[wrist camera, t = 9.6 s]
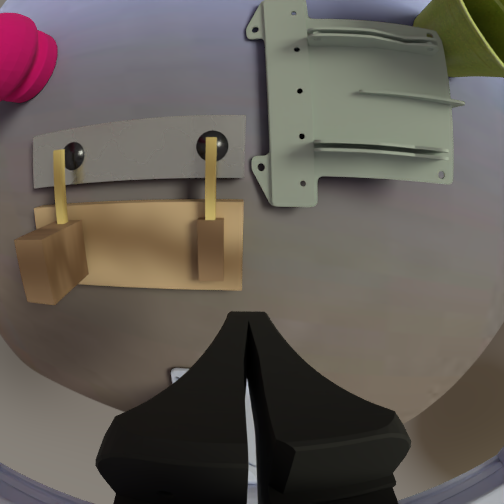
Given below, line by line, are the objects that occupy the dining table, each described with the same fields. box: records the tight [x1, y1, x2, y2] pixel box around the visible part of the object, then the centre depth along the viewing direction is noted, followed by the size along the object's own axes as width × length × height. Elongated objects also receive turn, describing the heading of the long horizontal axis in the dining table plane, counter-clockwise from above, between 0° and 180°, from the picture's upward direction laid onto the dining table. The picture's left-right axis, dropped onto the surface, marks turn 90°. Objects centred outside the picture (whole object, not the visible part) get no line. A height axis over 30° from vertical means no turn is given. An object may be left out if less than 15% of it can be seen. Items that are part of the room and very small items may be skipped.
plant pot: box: [413, 0, 504, 78], centre depth 12 cm, size 9×9×9 cm
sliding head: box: [14, 149, 89, 305], centre depth 15 cm, size 9×2×5 cm, turn 178°
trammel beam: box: [34, 137, 243, 290], centre depth 18 cm, size 10×16×2 cm, turn 88°
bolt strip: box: [33, 115, 246, 188], centre depth 18 cm, size 4×16×1 cm, turn 88°
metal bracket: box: [246, 0, 465, 207], centre depth 16 cm, size 14×6×15 cm
